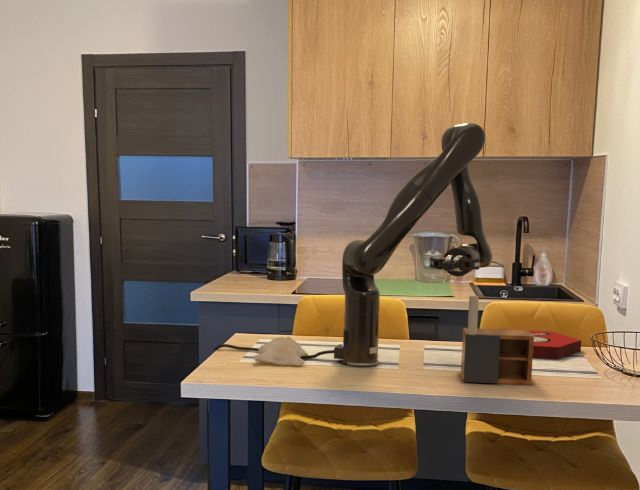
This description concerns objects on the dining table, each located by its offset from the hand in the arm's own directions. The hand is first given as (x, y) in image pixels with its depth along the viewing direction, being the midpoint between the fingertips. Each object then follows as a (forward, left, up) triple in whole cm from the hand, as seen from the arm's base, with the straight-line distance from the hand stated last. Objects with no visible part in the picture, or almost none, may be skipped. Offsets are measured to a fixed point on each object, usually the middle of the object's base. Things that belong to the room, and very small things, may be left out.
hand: (446, 266), depth 176 cm
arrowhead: (-43, +24, -29) cm, 57 cm away
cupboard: (+13, +7, -28) cm, 32 cm away
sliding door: (+9, +2, -28) cm, 30 cm away
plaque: (+27, +48, -29) cm, 62 cm away
